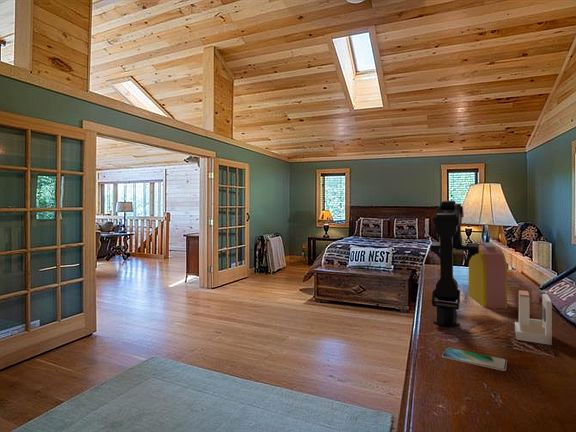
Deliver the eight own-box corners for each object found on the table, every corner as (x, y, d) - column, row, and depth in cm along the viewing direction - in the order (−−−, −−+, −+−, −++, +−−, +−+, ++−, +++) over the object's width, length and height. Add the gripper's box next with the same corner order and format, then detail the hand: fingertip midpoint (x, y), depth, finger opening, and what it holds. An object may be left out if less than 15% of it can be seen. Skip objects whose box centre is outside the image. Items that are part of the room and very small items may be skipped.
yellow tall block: (508, 308, 142) (507, 244, 142) (484, 307, 144) (483, 244, 144) (489, 296, 162) (488, 240, 162) (468, 295, 164) (468, 240, 164)
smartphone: (505, 370, 86) (441, 356, 95) (505, 373, 86) (441, 359, 95) (507, 359, 92) (446, 346, 101) (507, 362, 92) (446, 349, 101)
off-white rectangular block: (519, 329, 108) (519, 294, 108) (518, 323, 114) (518, 290, 114) (529, 330, 107) (529, 295, 107) (527, 324, 113) (527, 291, 113)
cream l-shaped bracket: (516, 339, 107) (516, 298, 107) (514, 329, 117) (514, 291, 117) (551, 345, 103) (551, 301, 103) (547, 333, 112) (547, 294, 112)
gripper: (479, 226, 148) (480, 259, 152) (433, 226, 158) (435, 257, 162) (478, 234, 139) (479, 270, 143) (429, 234, 149) (431, 267, 153)
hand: (455, 265), depth 150 cm, fingers open, 9 cm apart
